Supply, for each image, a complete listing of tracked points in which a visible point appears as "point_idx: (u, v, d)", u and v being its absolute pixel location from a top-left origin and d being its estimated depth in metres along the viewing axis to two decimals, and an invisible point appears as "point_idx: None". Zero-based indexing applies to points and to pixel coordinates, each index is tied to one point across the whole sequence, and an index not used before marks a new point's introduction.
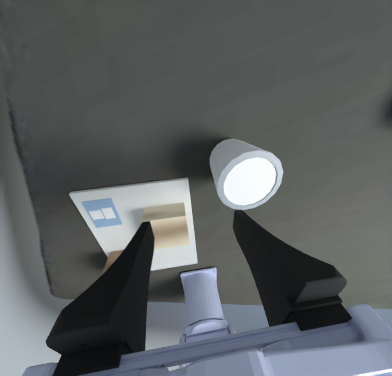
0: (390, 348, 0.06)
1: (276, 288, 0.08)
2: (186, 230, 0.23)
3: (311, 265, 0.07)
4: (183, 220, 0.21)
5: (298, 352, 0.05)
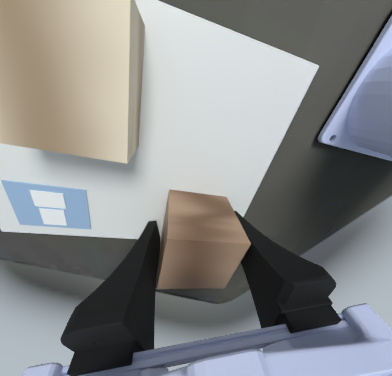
0: (390, 348, 0.06)
1: (267, 290, 0.08)
2: None
3: (301, 267, 0.07)
4: None
5: (298, 352, 0.05)
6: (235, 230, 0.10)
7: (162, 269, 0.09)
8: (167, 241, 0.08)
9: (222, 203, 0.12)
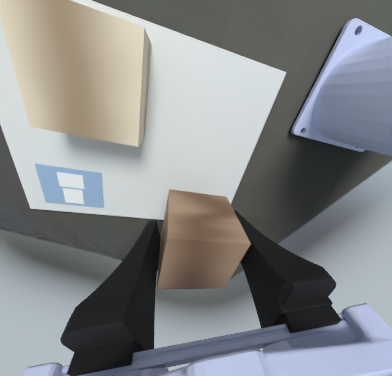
0: (390, 348, 0.06)
1: (267, 290, 0.08)
2: (71, 6, 0.07)
3: (301, 266, 0.07)
4: None
5: (298, 352, 0.05)
6: (235, 230, 0.10)
7: (162, 269, 0.09)
8: (167, 241, 0.08)
9: (222, 203, 0.12)
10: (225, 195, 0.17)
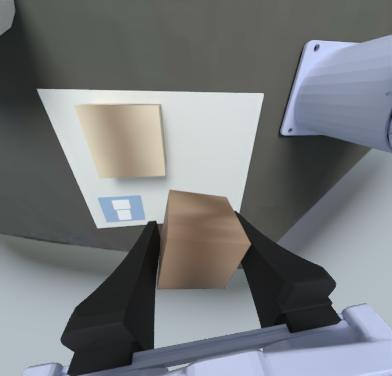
0: (390, 348, 0.06)
1: (267, 290, 0.08)
2: (116, 108, 0.12)
3: (301, 266, 0.07)
4: (87, 111, 0.11)
5: (298, 352, 0.05)
6: (235, 230, 0.10)
7: (162, 269, 0.09)
8: (167, 241, 0.08)
9: (222, 203, 0.12)
10: (236, 193, 0.21)
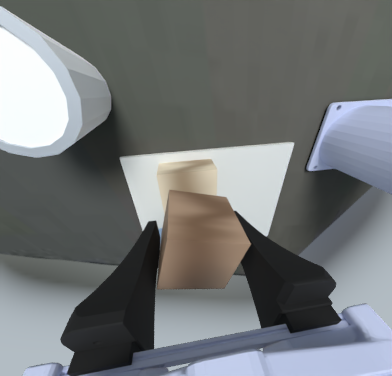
0: (390, 348, 0.06)
1: (267, 290, 0.08)
2: (186, 173, 0.15)
3: (301, 267, 0.07)
4: (165, 178, 0.15)
5: (298, 352, 0.05)
6: (235, 230, 0.10)
7: (162, 269, 0.09)
8: (167, 241, 0.08)
9: (222, 203, 0.12)
10: (266, 217, 0.24)
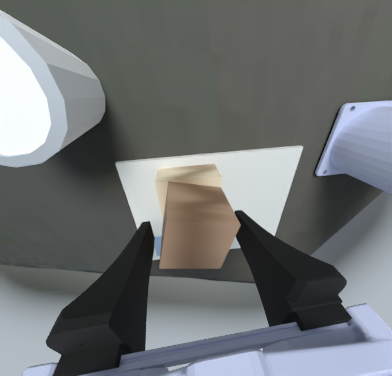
0: (390, 348, 0.06)
1: (276, 288, 0.08)
2: (187, 181, 0.14)
3: (311, 265, 0.07)
4: (164, 185, 0.14)
5: (298, 352, 0.05)
6: (227, 214, 0.11)
7: (163, 249, 0.11)
8: (166, 222, 0.10)
9: (216, 192, 0.14)
10: (272, 224, 0.23)
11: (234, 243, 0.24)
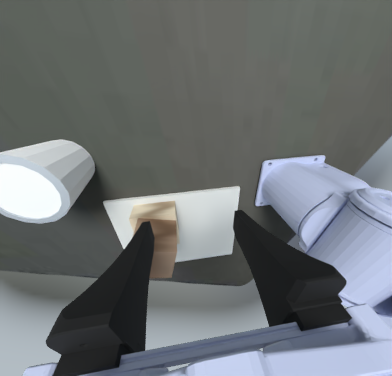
0: (390, 348, 0.06)
1: (276, 288, 0.08)
2: (151, 217, 0.20)
3: (311, 265, 0.07)
4: (135, 220, 0.20)
5: (298, 352, 0.05)
6: (171, 244, 0.18)
7: None
8: None
9: (171, 225, 0.20)
10: (228, 240, 0.29)
11: (200, 254, 0.31)
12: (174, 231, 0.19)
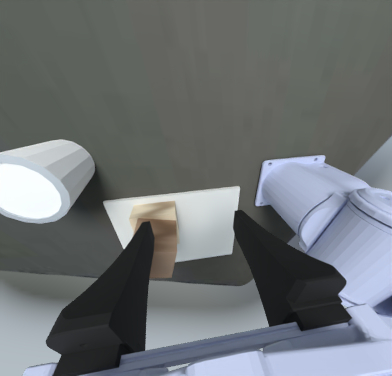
0: (390, 348, 0.06)
1: (276, 288, 0.08)
2: (151, 217, 0.20)
3: (311, 265, 0.07)
4: (135, 220, 0.20)
5: (298, 352, 0.05)
6: (171, 244, 0.18)
7: None
8: None
9: (171, 225, 0.20)
10: (228, 240, 0.29)
11: (200, 254, 0.31)
12: (174, 231, 0.19)
